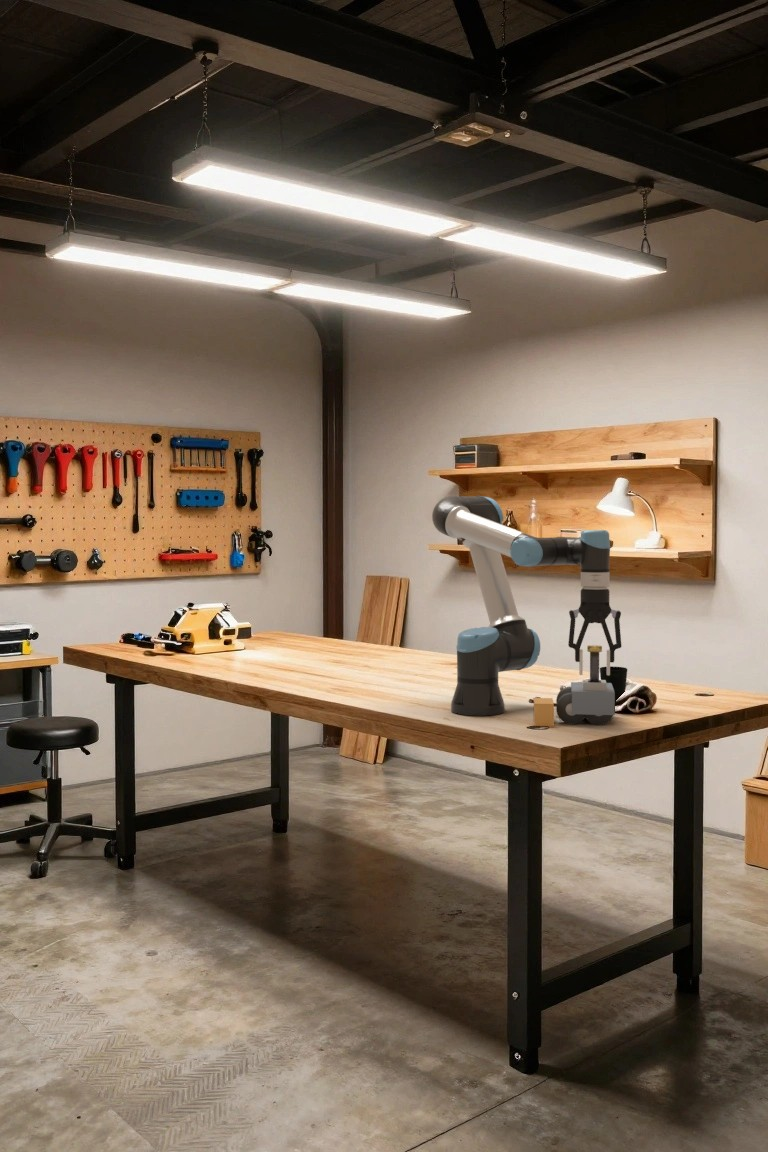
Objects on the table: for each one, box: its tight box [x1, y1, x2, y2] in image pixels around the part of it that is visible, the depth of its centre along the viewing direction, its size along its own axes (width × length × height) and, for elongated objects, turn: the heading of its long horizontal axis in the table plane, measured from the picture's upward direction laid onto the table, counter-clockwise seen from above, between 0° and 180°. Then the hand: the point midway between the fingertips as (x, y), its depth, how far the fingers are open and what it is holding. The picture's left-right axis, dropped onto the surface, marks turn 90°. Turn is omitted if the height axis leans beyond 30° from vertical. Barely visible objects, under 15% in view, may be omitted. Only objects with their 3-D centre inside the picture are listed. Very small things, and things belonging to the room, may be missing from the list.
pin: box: [586, 644, 603, 683], centre depth 274 cm, size 4×4×11 cm
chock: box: [533, 697, 555, 727], centre depth 275 cm, size 5×9×6 cm, turn 173°
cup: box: [599, 666, 628, 704], centre depth 292 cm, size 8×8×12 cm
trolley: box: [555, 679, 616, 726], centre depth 278 cm, size 15×16×11 cm
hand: (594, 674), depth 274 cm, fingers open, 6 cm apart
